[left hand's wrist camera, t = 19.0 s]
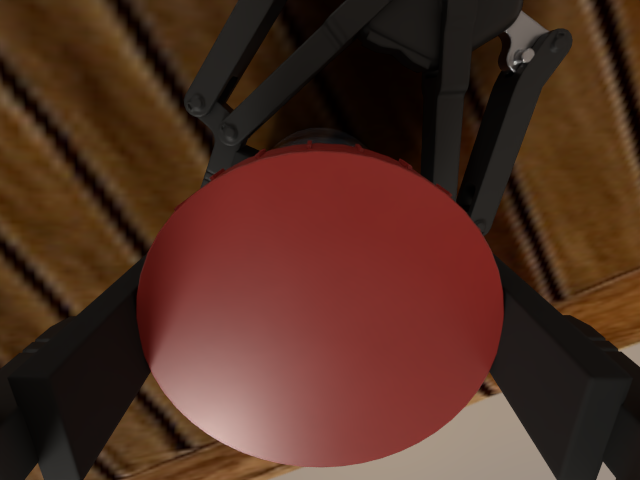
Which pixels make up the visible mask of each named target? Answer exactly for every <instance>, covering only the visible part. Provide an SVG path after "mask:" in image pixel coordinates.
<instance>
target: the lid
mask: <svg viewBox="0 0 640 480" xmlns="http://www.w3.org/2000/svg"><path fill="white" fill-rule="evenodd" d="M210 180H211V181H210V182H209V183H208V184H206V185H205V186H203V187H202V188H201V189H199V190H198V191H197V192H195V193H194V194H193V195H191V196H190V197H189V198H188V199H186V200H185V201H184V202H182V203H181V204H180V205H178V206H177V207H176V208H175V209H174V210H175V212H174V213H173V214H172V215H171V217H170V218H169V219H168V221H167V222H166V223H165V225H164V226H163V227H162V229H161V230H160V231H159V233H158V235H157V237H156V238H155V240H154V242H153V244H152V246H151V248H150V250H149V252H148V254H147V257H146V259H145V262H144V265H143V268H142V271H141V274H140V280H139V285H138V291H137V305H136V319H137V324H138V329H139V335H140V340H141V344H142V349H143V353H144V356H145V359H146V361H147V363H148V365H149V368H150V370H151V372H152V374H153V376H154V378H155V379H156V381H157V383H158V384H159V386H160V387H161V389H162V391H163V392H164V393H165V395H166V396H167V397H168V398H169V400H170V401H171V402H172V403H173V404H174V406H175V407H176V408H177V409H178V410H179V411H180V412H181V413H182V414H183V415H184V416H185V417H186V418H187V419H189V420H190V421H191V422H192V423H193V424H195V425H196V426H197V427H199V428H200V429H201V430H202V431H204V432H205V433H206V434H208V435H210V436H211V437H213V438H215V439H216V440H218V441H220V442H221V443H223V444H225V445H227V446H229V447H232V448H234V449H236V450H238V451H240V452H242V453H245V454H248V455H251V456H254V457H257V458H260V459H263V460H268V461H272V462H276V463H280V464H287V465H294V466H302V467H336V466H346V465H353V464H360V463H365V462H369V461H372V460H376V459H380V458H384V457H386V456H389V455H392V454H395V453H397V452H400V451H402V450H405V449H407V448H409V447H411V446H413V445H415V444H417V443H419V442H421V441H422V440H424V439H425V438H427V437H429V436H430V435H432V434H434V433H435V432H437V431H438V430H439V429H441V428H442V427H443V426H444V425H446V424H447V423H448V422H449V421H451V420H452V419H453V418H454V417H455V416H456V415H457V414H458V413H459V412H460V411H461V410H462V409H463V408H464V407H465V406H466V405H467V404H468V402H469V401H470V400H471V399H472V397H473V396H474V395H475V394H476V392H477V391H478V390H479V388H480V386H481V385H482V383H483V381H484V380H485V378H486V376H487V375H488V373H489V371H490V368H491V366H492V364H493V361H494V359H495V357H496V354H497V350H498V346H499V341H500V336H501V331H502V326H503V319H504V300H503V289H502V284H501V279H500V274H499V270H498V267H497V264H496V262H495V259H494V256H493V254H492V251H491V249H490V247H489V245H488V244H487V242H486V240H485V238H484V236H483V235H482V233H481V230H480V228H479V227H478V226H476V224H475V223H474V222H473V220H472V219H471V218H470V217H469V215H468V214H467V213H466V212H465V210H464V209H463V208H461V207H460V206H459V205H458V204H457V203H456V202H455V201H454V200H453V199H452V198H451V196H452V194H451V193H450V192H448V191H447V190H446V189H444V188H443V187H441V186H440V185H439V184H436V185H434V184H433V183H432V182H430V181H429V180H428V179H426V178H425V177H423V176H422V175H420V174H419V173H417V172H416V171H415V170H413V169H412V166H411V165H409V164H408V163H407V162H405V161H404V160H402V159H399V162H398V161H396V160H394V159H392V158H390V157H388V156H385V155H382V154H379V153H376V152H373V151H370V150H368V149H363V148H362V147H361V146H360V145H359V144H355V147H353V146H348V145H343V144H325V143H313V144H312V140H308V142H307V144H300V145H291V146H287V147H282V148H278V149H273V150H269V151H266V150H265V149H262V150H261V151H259V152H258V153H257V154H256V155H255V156H253V157H250V158H247V159H245V160H244V161H242V162H240V163H238V164H236V165H234V166H232V167H230V168H229V169H227V170H224V168H223V169H221V170H220V171H218V172H217V173H215V174H214V175H212V176H211V177H210Z"/></svg>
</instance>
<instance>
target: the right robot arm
mask: <svg viewBox="0 0 640 480" xmlns="http://www.w3.org/2000/svg"><path fill="white" fill-rule="evenodd" d="M286 2H287V0H238V2H237V4H236V6H235V8H234V9H233V11H232V13H231V15H230V17H229V18H228V20H227V22H226V24H225V25H224V27H223V29H222V31H221V33H220V34H219V36H218V38H217V40H216V42H215V43H214V45H213V47H212V49H211V51H210V52H209V54H208V56H207V58H206V59H205V61H204V63H203V65H202V67H201V68H200V70H199V72H198V74H197V76H196V77H195V79H194V81H193V83H192V84H191V86H190V88H189V90H188V92H187V93H186V95H185V99H184V105H185V108H186V110H187V111H188V112H189V113H190V114H191V115H193V116H195V117H198V118H199V119H200V120H201V121H202V122H203V123H205V124H206V125H207V126H208V127H209V128H210V129H211V131H212V132H213V134H214V138H215V144H214V148H213V151H212V154H211V157H210V161H209V164H208V167H207V170H206V173H205V176H204V179H203V182H202V185H201V188H202V187H203V186H205V185H206V184H208V183H209V182H210V181H211V180H210V177H211V176H212V175H214V174H215V173H217V172H218V171H220V170H221V169H223V168H224V170H227V169H229V168H230V167H232V166H234V165H236V164H238V163H240V162H242V161H244V160H245V159H247V158H250V157H253V156H255V155H256V154H257V153H258V152H259V150H257V149H254V148H252V147H250V146H247V145H246V142H247V140H248V138H250V136H251V135H252V134H253V133H254V132H255V131H257V130H258V129H259V128H260V127H261V126H262V125H263V124H264V123H265V122H266V121H267V120H268V119H269V118H271V117H272V116H273V115H274V114H275V113H276V112H277V111H278V110H279V109H280V108H281V107H282V106H283V105H285V104H286V103H287V102H288V101H289V100H290V99H291V98H292V97H293V96H294V95H295V94H296V93H297V92H299V91H300V90H301V89H302V88H303V87H304V86H305V85H306V84H307V83H308V82H309V81H310V80H311V79H313V78H314V77H315V76H316V75H317V74H318V73H319V72H320V71H321V70H322V69H323V68H324V67H325V66H327V65H328V64H329V63H330V62H331V61H332V60H333V59H334V58H335V57H336V56H337V55H339V54H340V53H341V52H342V51H343V50H345V49H346V48H347V47H348V46H349V45H350V44H351V43H352V42H353V41H354V40H355V39H356V38H358V39H359V40H360V41H361V42H362V46H364V47H366V48H368V49H370V50H372V51H374V52H378V53H384V54H390V55H392V56H393V57H395V58H396V59H397V60H398V61H399V62H400V63H401V64H402V65H403V66H405V67H407V68H409V69H411V70H413V71H415V72H417V73H418V72H422V93H423V97H424V104H423V129H422V154H421V175H422V176H423V177H425V178H426V179H428V180H429V181H430V182H432V183H433V184H434V185H436V184H439V185H440V186H441V187H443V188H444V189H446V190H447V191H448V192H450V193H451V194H452V196H451V198H452V199H453V200H454V201H455V202H456V203H457V204H458V205H459V206H460V207H461V208H463V209H464V210H465V212H466V213H467V214H468V215H469V217H470V218H471V219H472V220H473V222H474V223H475V224H476V226H478V227H479V228H480V230H481V233H482V235H483V236H484V235H486V234H487V233H488V232H489V230H490V228H491V225H492V223H493V220H494V217H495V215H496V212H497V209H498V206H499V204H500V201H501V198H502V196H503V193H504V190H505V187H506V185H507V182H508V179H509V176H510V174H511V171H512V168H513V166H514V163H515V160H516V157H517V155H518V152H519V149H520V146H521V144H522V141H523V138H524V136H525V133H526V130H527V127H528V125H529V122H530V119H531V116H532V114H533V111H534V108H535V106H536V103H537V100H538V97H539V95H540V92H541V89H542V87H543V85H544V84H545V83H546V81H547V80H548V79H549V77H550V76H551V75H552V73H553V72H554V71H555V69H556V68H557V67H558V65H559V64H560V63H561V61H562V60H563V58H564V57H565V56H566V54H567V53H568V52H569V50H570V48H571V46H572V36H571V34H570V32H569V31H568V30H566V29H556V30H552V31H547V30H546V29H545V28H543V27H542V26H541V25H539V24H538V23H537V22H536V21H534V20H533V19H532V18H530V17H529V16H528V15H526V14H525V13H524V12H523V11H521V10H522V6H523V0H346V1H345V2H343V3H342V4H341V5H340V6H339V7H338V8H337V9H336V10H335V11H334V12H333V13H332V14H331V15H330V16H329V17H328V18H327V19H326V21H325V22H324V23H323V25H322V26H321V27H320V28H319V29H318V30H317V31H316V32H315V33H314V34H313V35H312V36H311V37H309V38H308V39H307V40H306V41H305V42H304V43H303V44H302V45H301V46H300V47H299V48H298V49H297V50H296V51H295V52H294V53H293V54H292V55H291V56H290V57H289V58H288V59H287V60H286V61H285V62H284V63H282V64H281V65H280V66H279V67H278V68H277V69H276V70H275V71H274V72H273V73H272V74H271V75H270V76H269V77H268V78H267V79H266V80H265V81H264V82H263V83H262V84H261V85H260V86H259V87H258V88H257V89H255V90H254V91H253V92H252V93H251V94H250V95H249V96H248V97H247V98H246V99H245V100H244V101H243V102H242V103H241V104H240V105H239V106H238V107H237V108H236V109H235V110H233V109H232V108H231V107H230V106H229V105H228V104H227V103H226V102H227V100H228V98H229V97H230V95H231V93H232V92H233V90H234V88H235V87H236V85H237V83H238V82H239V80H240V78H241V77H242V75H243V73H244V72H245V70H246V68H247V67H248V65H249V63H250V62H251V60H252V58H253V57H254V55H255V53H256V52H257V50H258V48H259V47H260V45H261V43H262V42H263V40H264V38H265V37H266V35H267V33H268V32H269V30H270V28H271V27H272V25H273V23H274V22H275V20H276V18H277V17H278V15H279V13H280V12H281V10H282V8H283V7H284V5H285V3H286ZM496 36H499V37H500V39H501V41H502V50H501V53H500V55H499V59H498V64H499V67H500V69H501V70H502V71H501V73H500V74H499V76H498V78H497V80H496V82H495V84H494V86H493V89H492V92H491V94H490V97H489V100H488V103H487V106H486V110H485V113H484V116H483V119H482V122H481V125H480V128H479V131H478V134H477V137H476V140H475V144H474V147H473V150H472V153H471V156H470V159H469V162H468V165H467V168H466V171H465V174H464V177H463V181H462V184H461V187H460V190H459V193H458V196H457V199H456V195H457V182H458V169H459V156H460V142H461V129H462V116H463V102H464V95H465V93H466V91H467V89H468V86H469V78H470V65H471V52H472V51H473V50H475V49H477V48H478V47H480V46H482V45H483V44H485V43H486V42H488V41H490V40H491V39H493V38H495V37H496ZM245 145H246V146H245ZM201 188H200V189H201Z"/></svg>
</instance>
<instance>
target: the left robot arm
mask: <svg viewBox="0 0 640 480" xmlns="http://www.w3.org/2000/svg"><path fill="white" fill-rule="evenodd" d="M147 254H148V253H147ZM147 254H146V255H145V256H144V257H143V258H142V259H140V260H139V261H138V262H137V263H136V264H135V265H134V266H133V267H131V268H130V269H129V270H128V271H127V272H126V273H125V274H124V275H122V276H121V277H120V278H119V279H118V280H117V281H116V282H114V283H113V284H112V285H111V286H110V287H109V288H108V289H107V290H105V291H104V292H103V293H102V294H101V295H100V296H99V297H98V298H96V299H95V300H94V301H93V302H92V303H91V304H90V305H89V306H87V307H86V308H85V309H84V310H83V311H82V312H81V313H79V314H78V315H77V316H70V317H69V318H67V319H65V320H63V321H61V322H59V323H57V324H55V325H53V326H52V327H50V328H49V329H48V330H46V331H45V332H44V333H43V334H42V335H40V336H39V337H38V338H37V339H36V340H35V342H32V343H31V344H30V345H29V346H27V347H26V348H25V349H24V350H23V353H19V354H18V355H17V356H15V357H14V358H13V359H12V360H11V361H9V362H8V363H7V364H6V365H5V366H4V367H2V368H1V369H0V480H25V478H26V477H27V476H28V475H29V473H30V472H31V471H32V469H33V468H34V467H35V466H36V464H37V463H38V464H39V467H40V470H41V472H42V475H43V478H44V480H83V479H84V478H85V476H86V475H87V473H88V471H89V470H90V468H91V467H92V465H93V463H94V462H95V460H96V459H97V457H98V455H99V454H100V452H101V451H102V449H103V447H104V446H105V444H106V443H107V441H108V439H109V438H110V436H111V435H112V433H113V431H114V430H115V428H116V427H117V425H118V423H119V422H120V420H121V419H122V417H123V415H124V414H125V412H126V411H127V409H128V407H129V406H130V404H131V403H132V401H133V399H134V398H135V396H136V394H137V393H138V391H139V390H140V388H141V386H142V385H143V383H144V382H145V380H146V378H147V377H148V375H149V374H150V372H151V370H150V368H149V365H148V363H147V361H146V359H145V356H144V353H143V349H142V344H141V340H140V335H139V329H138V324H137V319H136V305H137V291H138V285H139V280H140V274H141V271H142V268H143V265H144V262H145V259H146V257H147ZM492 254H493V253H492ZM493 256H494V259H495V262H496V264H497V267H498V270H499V274H500V279H501V284H502V289H503V300H504V319H503V326H502V331H501V336H500V341H499V346H498V350H497V354H496V357H495V359H494V361H493V364H492V366H491V368H490V371H489V372H490V373H491V375H492V376H493V378H494V380H495V381H496V383H497V385H498V386H499V388H500V389H501V391H502V393H503V394H504V396H505V397H506V399H507V401H508V402H509V404H510V405H511V407H512V408H513V410H514V412H515V413H516V415H517V417H518V418H519V420H520V421H521V423H522V425H523V426H524V428H525V429H526V431H527V433H528V434H529V436H530V437H531V439H532V441H533V442H534V444H535V445H536V447H537V449H538V450H539V452H540V453H541V455H542V457H543V458H544V460H545V461H546V463H547V465H548V466H549V468H550V469H551V471H552V473H553V474H554V476H555V477H556V479H557V480H596V479H597V476H598V473H599V470H600V468H601V465H602V462H604V463H605V464H606V466H607V467H608V468H609V469H610V471H611V472H612V473H613V475H614V476H615V477H616V480H640V367H639V366H638V365H637V364H635V363H634V362H633V361H632V360H631V359H629V358H628V357H627V356H626V355H625V354H623V353H622V352H619V351H618V349H617V348H616V347H615V346H614V345H613V344H612V343H610V342H609V341H606V340H605V338H604V337H603V336H602V335H601V334H600V333H598V332H597V331H596V330H595V329H594V328H592V327H591V326H590V325H588V324H586V323H584V322H582V321H580V320H578V319H576V318H574V317H573V316H571V315H562V314H561V313H560V312H558V311H557V310H556V309H555V308H554V307H553V306H552V305H551V304H549V303H548V302H547V301H546V300H545V299H544V298H543V297H542V296H540V295H539V294H538V293H537V292H536V291H535V290H534V289H533V288H531V287H530V286H529V285H528V284H527V283H526V282H525V281H524V280H522V279H521V278H520V277H519V276H518V275H517V274H516V273H514V272H513V271H512V270H511V269H510V268H509V267H508V266H507V265H505V264H504V263H503V262H502V261H501V260H500V259H499V258H498V257H496V256H495V255H494V254H493Z"/></svg>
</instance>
